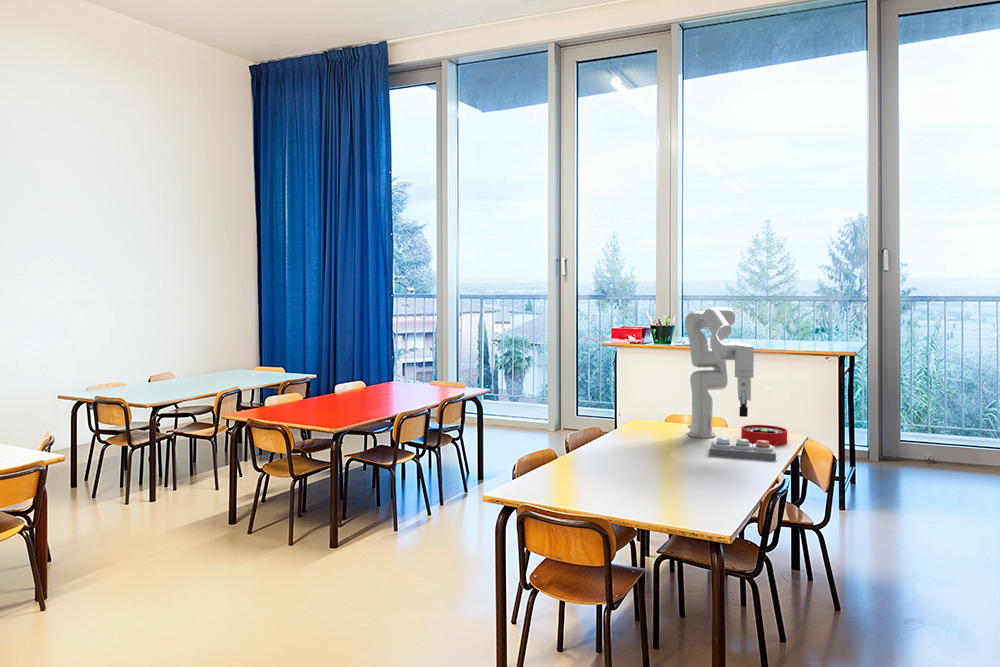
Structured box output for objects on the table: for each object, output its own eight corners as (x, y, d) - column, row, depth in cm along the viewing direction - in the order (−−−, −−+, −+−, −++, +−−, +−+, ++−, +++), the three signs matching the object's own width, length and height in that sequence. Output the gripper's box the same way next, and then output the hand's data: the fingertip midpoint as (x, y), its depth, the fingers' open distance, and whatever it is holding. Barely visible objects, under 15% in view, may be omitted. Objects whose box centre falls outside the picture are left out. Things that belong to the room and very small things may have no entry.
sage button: (736, 445, 289) (736, 440, 289) (736, 443, 293) (736, 438, 293) (748, 446, 287) (748, 441, 287) (748, 443, 292) (749, 439, 292)
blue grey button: (716, 444, 292) (716, 439, 291) (717, 441, 296) (717, 437, 296) (728, 444, 290) (729, 440, 290) (729, 442, 294) (729, 437, 294)
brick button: (756, 446, 286) (756, 442, 286) (756, 444, 291) (756, 439, 291) (769, 447, 284) (769, 443, 284) (768, 445, 289) (769, 440, 289)
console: (709, 455, 289) (709, 445, 288) (711, 448, 302) (711, 439, 301) (775, 460, 279) (775, 450, 279) (774, 453, 292) (774, 443, 292)
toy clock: (747, 433, 307) (736, 424, 327) (747, 445, 307) (736, 436, 327) (793, 433, 305) (779, 425, 325) (793, 446, 305) (779, 437, 325)
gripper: (753, 375, 280) (752, 420, 281) (753, 372, 294) (752, 414, 295) (734, 375, 283) (733, 418, 284) (735, 371, 296) (734, 413, 298)
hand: (743, 416), depth 289 cm, fingers closed
